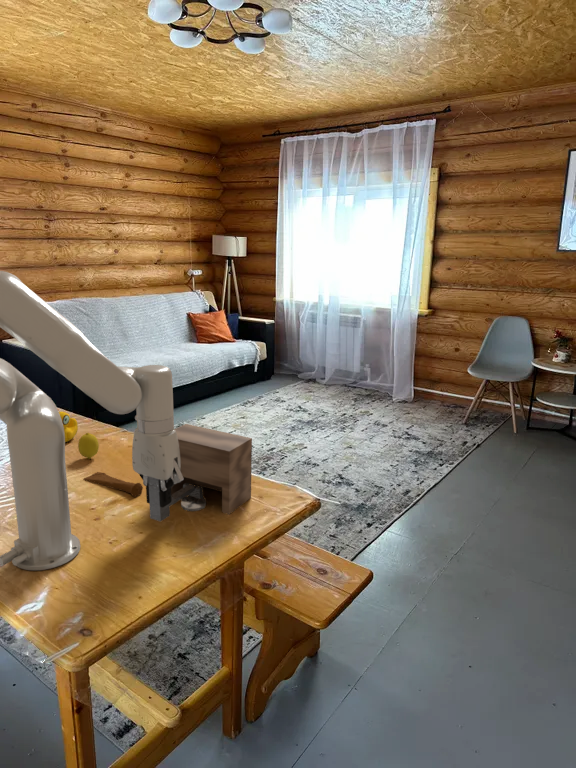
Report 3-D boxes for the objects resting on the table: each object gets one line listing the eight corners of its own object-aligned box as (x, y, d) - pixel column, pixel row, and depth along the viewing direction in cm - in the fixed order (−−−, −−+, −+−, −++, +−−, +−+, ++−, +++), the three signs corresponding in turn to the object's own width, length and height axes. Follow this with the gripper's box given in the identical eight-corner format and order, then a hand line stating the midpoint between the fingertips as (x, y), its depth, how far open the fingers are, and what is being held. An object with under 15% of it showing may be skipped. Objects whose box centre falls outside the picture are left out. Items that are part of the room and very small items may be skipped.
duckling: (59, 449, 161) (56, 417, 158) (44, 446, 162) (41, 415, 160) (83, 436, 172) (81, 407, 169) (69, 434, 173) (66, 405, 170)
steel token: (196, 514, 126) (195, 508, 125) (175, 508, 128) (175, 502, 128) (210, 504, 131) (210, 498, 130) (191, 498, 133) (191, 492, 133)
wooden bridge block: (229, 514, 126) (229, 451, 121) (162, 494, 134) (160, 435, 130) (251, 497, 134) (251, 438, 130) (187, 480, 143) (186, 423, 139)
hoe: (164, 522, 116) (162, 472, 112) (146, 517, 118) (144, 467, 115) (203, 496, 128) (202, 450, 124) (186, 491, 130) (185, 446, 127)
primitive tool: (82, 480, 141) (81, 468, 141) (98, 473, 146) (98, 462, 145) (133, 499, 132) (133, 487, 131) (149, 492, 137) (149, 479, 136)
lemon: (101, 460, 154) (100, 434, 152) (81, 463, 151) (79, 437, 149) (96, 453, 158) (94, 428, 156) (77, 457, 155) (75, 431, 153)
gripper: (113, 422, 113) (119, 501, 117) (174, 436, 105) (177, 519, 110) (138, 412, 119) (142, 487, 124) (197, 425, 112) (199, 504, 117)
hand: (159, 502), depth 117 cm, fingers closed on hoe, 3 cm apart
